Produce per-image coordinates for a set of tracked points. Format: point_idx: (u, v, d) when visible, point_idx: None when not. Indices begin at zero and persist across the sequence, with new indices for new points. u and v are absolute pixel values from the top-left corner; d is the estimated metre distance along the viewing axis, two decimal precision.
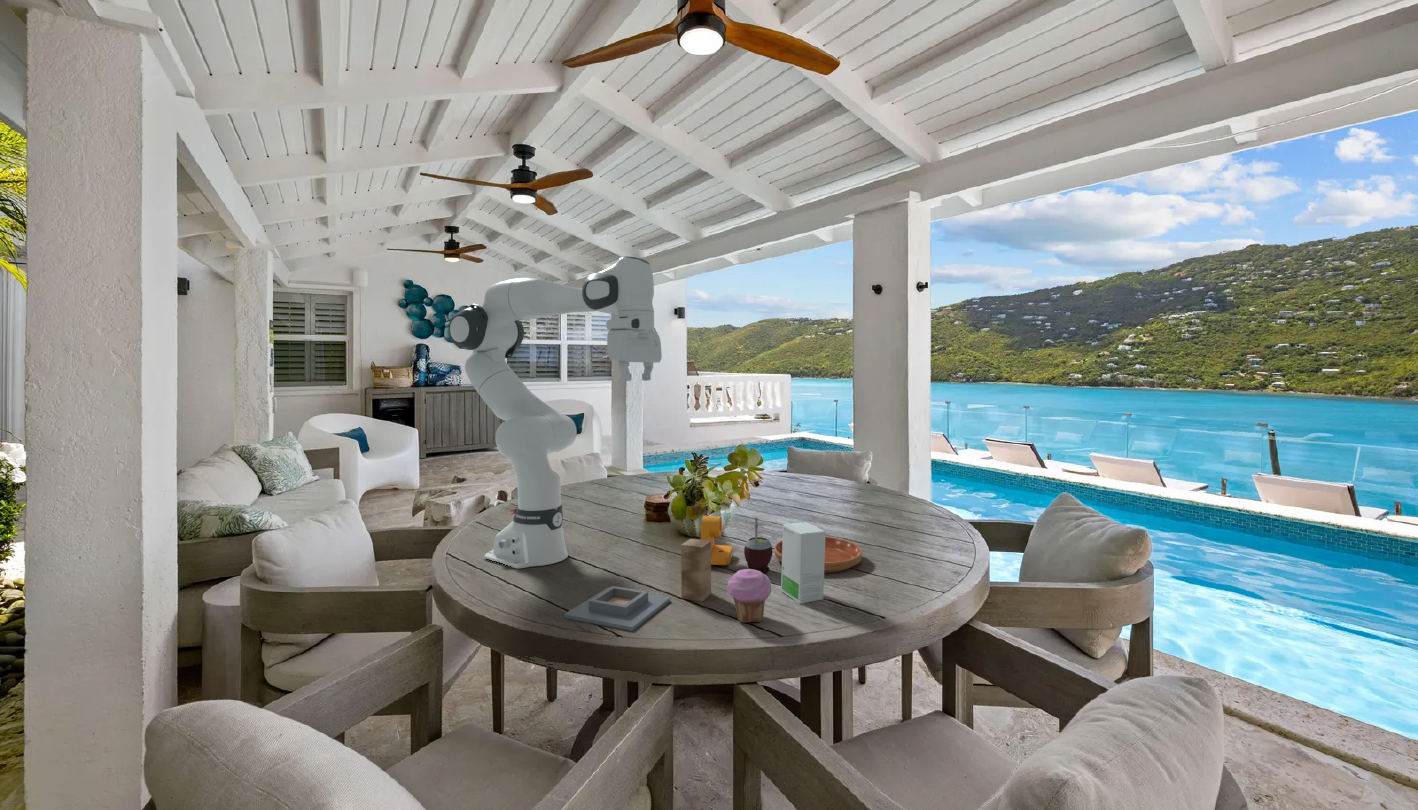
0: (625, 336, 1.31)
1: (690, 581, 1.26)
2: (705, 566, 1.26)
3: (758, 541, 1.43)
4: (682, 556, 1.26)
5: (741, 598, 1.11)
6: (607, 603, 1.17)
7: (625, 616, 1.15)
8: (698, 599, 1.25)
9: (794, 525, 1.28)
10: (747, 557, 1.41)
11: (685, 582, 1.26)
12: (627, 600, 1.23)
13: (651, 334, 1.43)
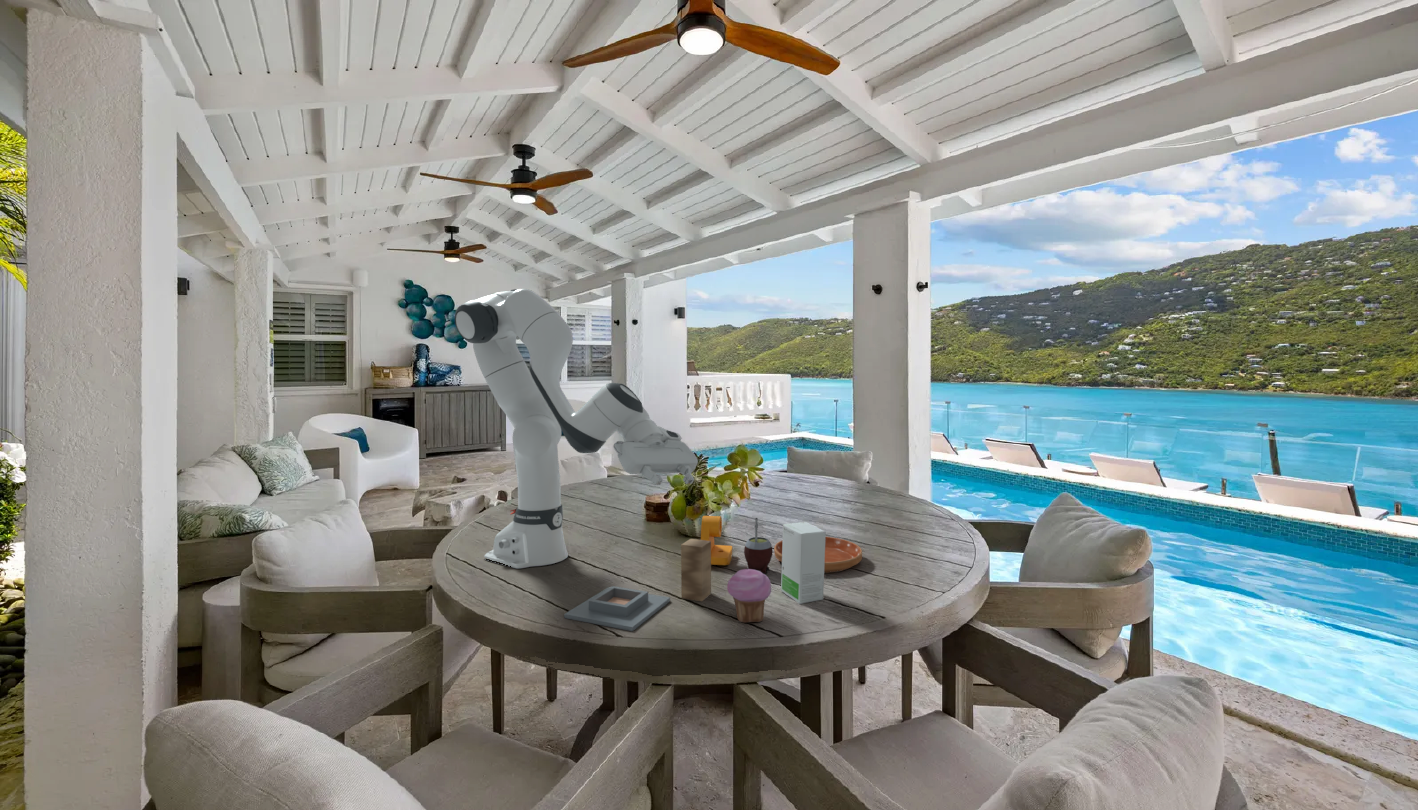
0: None
1: (690, 581, 1.26)
2: (706, 566, 1.26)
3: (758, 541, 1.43)
4: (682, 556, 1.26)
5: (741, 598, 1.11)
6: (607, 603, 1.17)
7: (625, 616, 1.15)
8: (698, 599, 1.25)
9: (794, 525, 1.28)
10: (747, 557, 1.41)
11: (685, 582, 1.26)
12: (627, 600, 1.23)
13: None
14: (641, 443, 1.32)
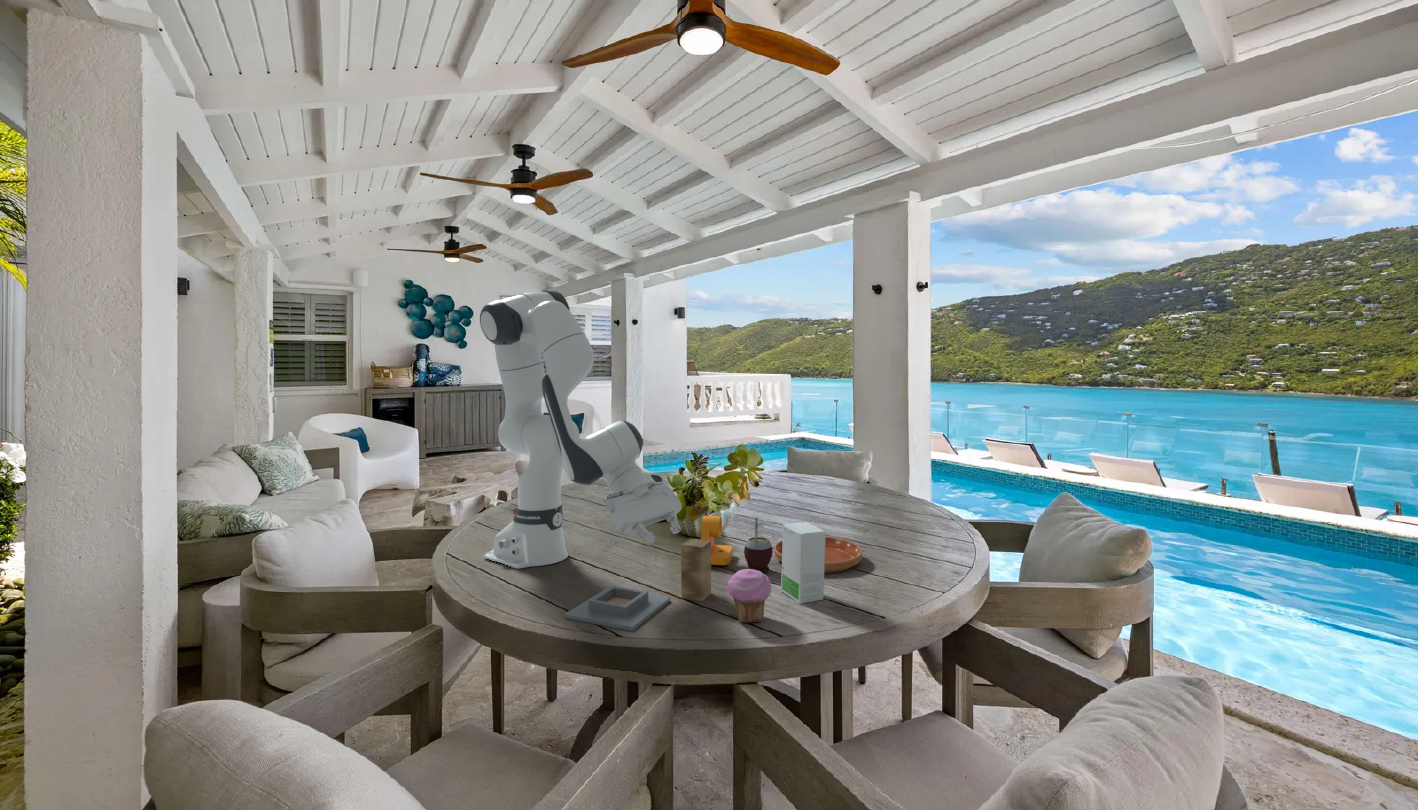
0: None
1: (690, 581, 1.26)
2: (705, 566, 1.26)
3: (758, 541, 1.43)
4: (682, 556, 1.26)
5: (741, 598, 1.11)
6: (607, 603, 1.17)
7: (625, 616, 1.15)
8: (698, 599, 1.25)
9: (794, 525, 1.28)
10: (747, 557, 1.41)
11: (685, 582, 1.26)
12: (627, 600, 1.23)
13: None
14: (630, 495, 1.30)
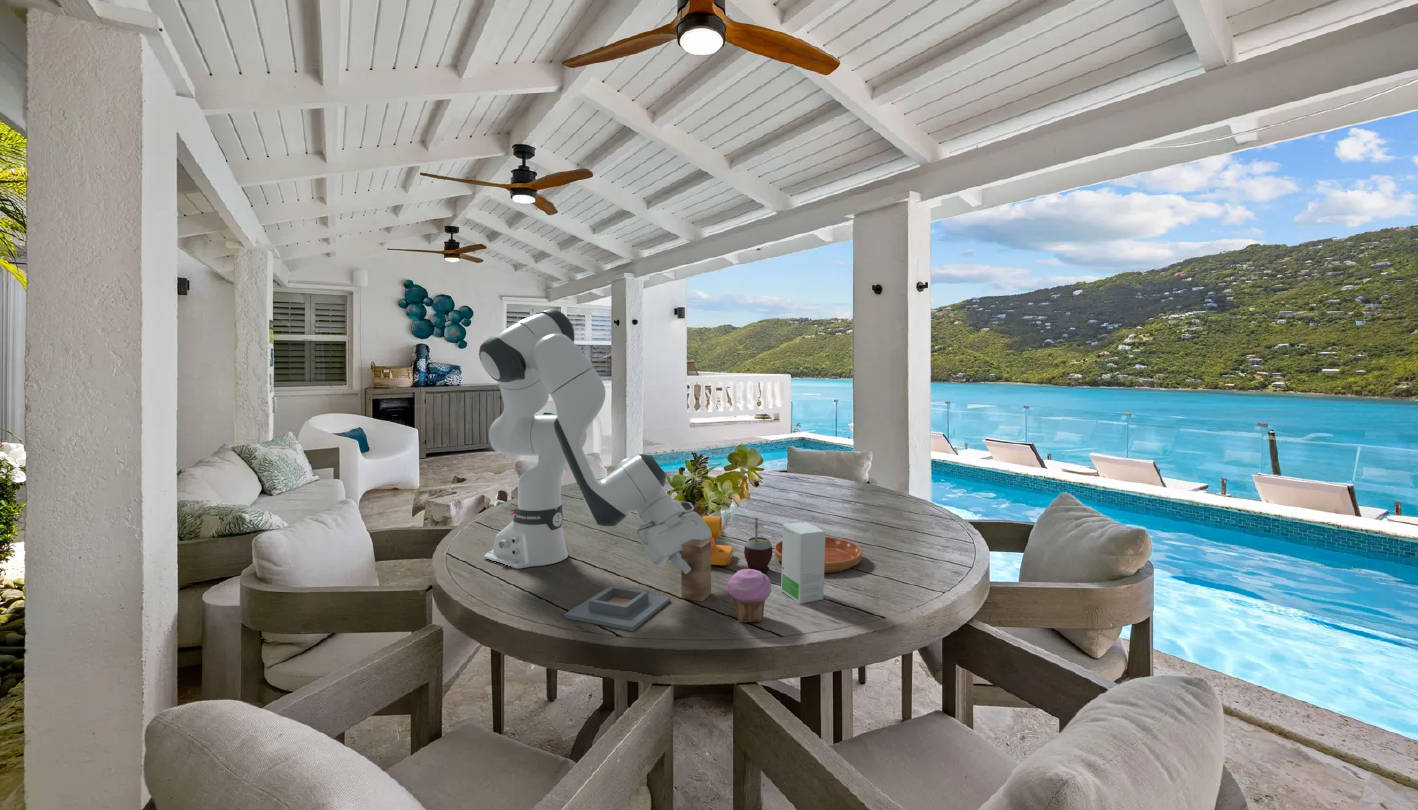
0: None
1: (690, 581, 1.26)
2: (706, 566, 1.26)
3: (758, 541, 1.43)
4: (682, 556, 1.26)
5: (741, 598, 1.11)
6: (607, 603, 1.17)
7: (625, 616, 1.15)
8: (698, 599, 1.25)
9: (794, 525, 1.28)
10: (747, 557, 1.41)
11: (685, 582, 1.26)
12: (627, 600, 1.23)
13: None
14: (663, 526, 1.27)
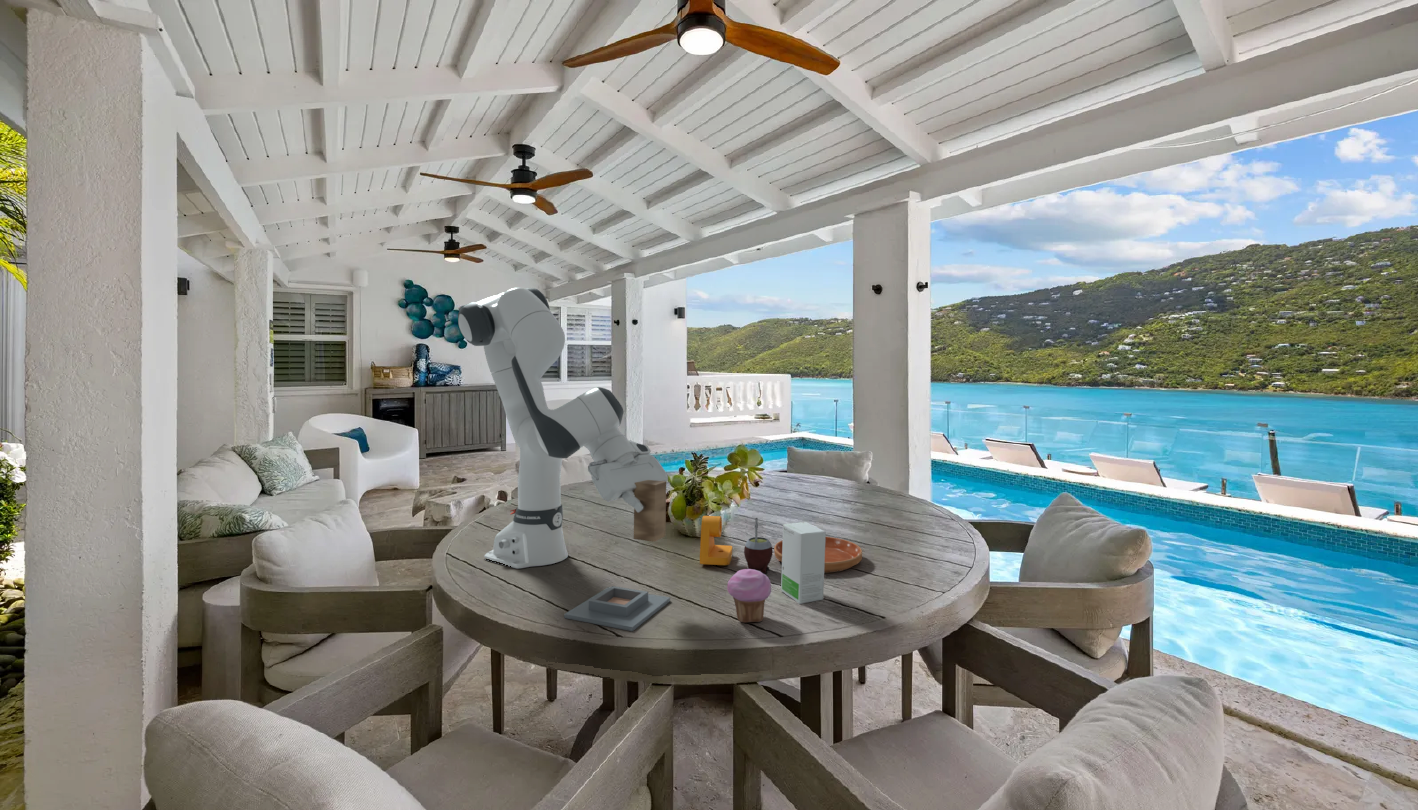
0: None
1: (642, 521, 1.21)
2: (659, 506, 1.22)
3: (758, 541, 1.43)
4: (635, 495, 1.21)
5: (741, 598, 1.11)
6: (607, 603, 1.17)
7: (625, 616, 1.15)
8: (650, 539, 1.20)
9: (794, 525, 1.28)
10: (747, 557, 1.41)
11: (637, 522, 1.21)
12: (627, 600, 1.23)
13: None
14: (615, 463, 1.22)
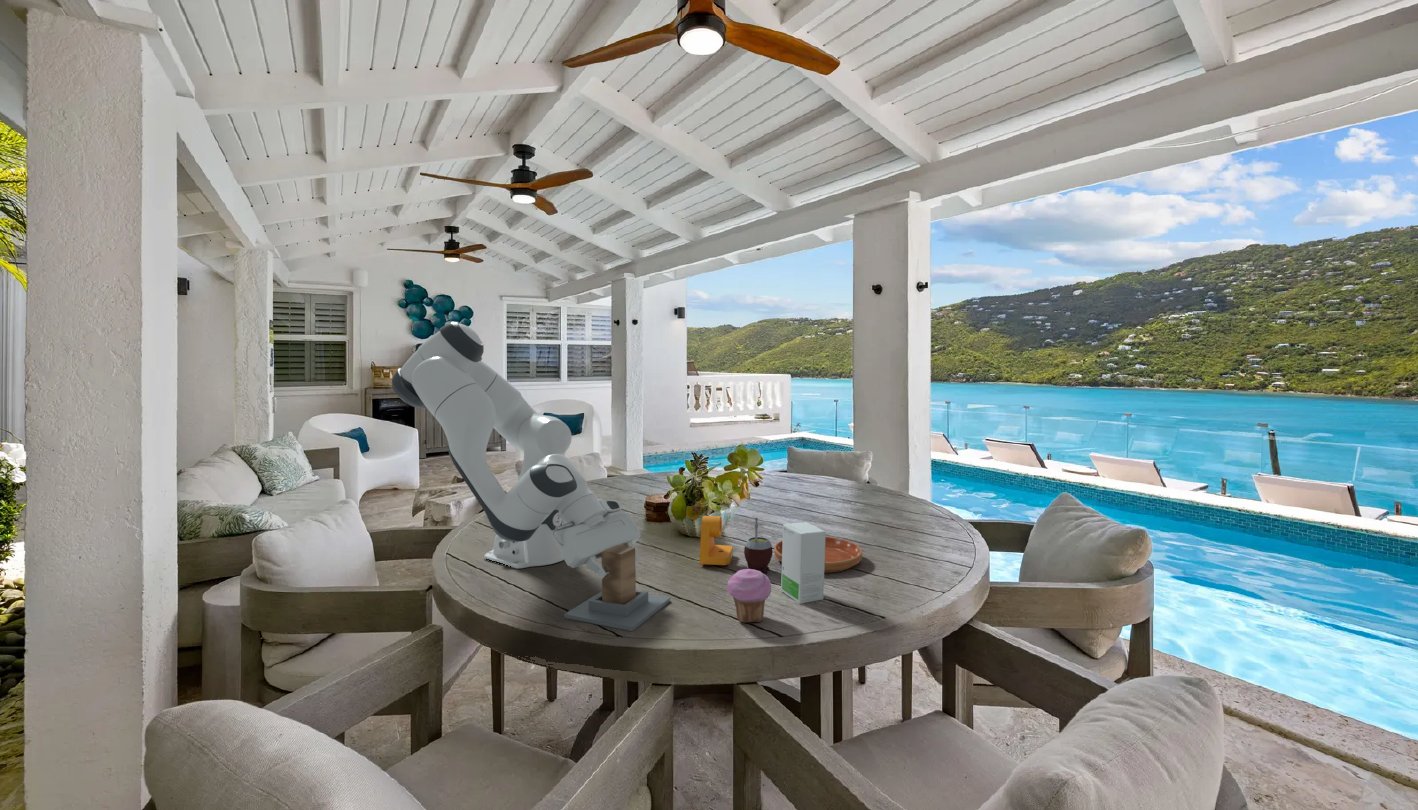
0: None
1: (610, 590, 1.18)
2: (627, 574, 1.19)
3: (758, 541, 1.43)
4: (602, 563, 1.19)
5: (741, 598, 1.11)
6: (607, 603, 1.17)
7: (625, 616, 1.15)
8: None
9: (794, 525, 1.28)
10: (747, 557, 1.41)
11: (605, 591, 1.19)
12: None
13: None
14: (583, 526, 1.20)
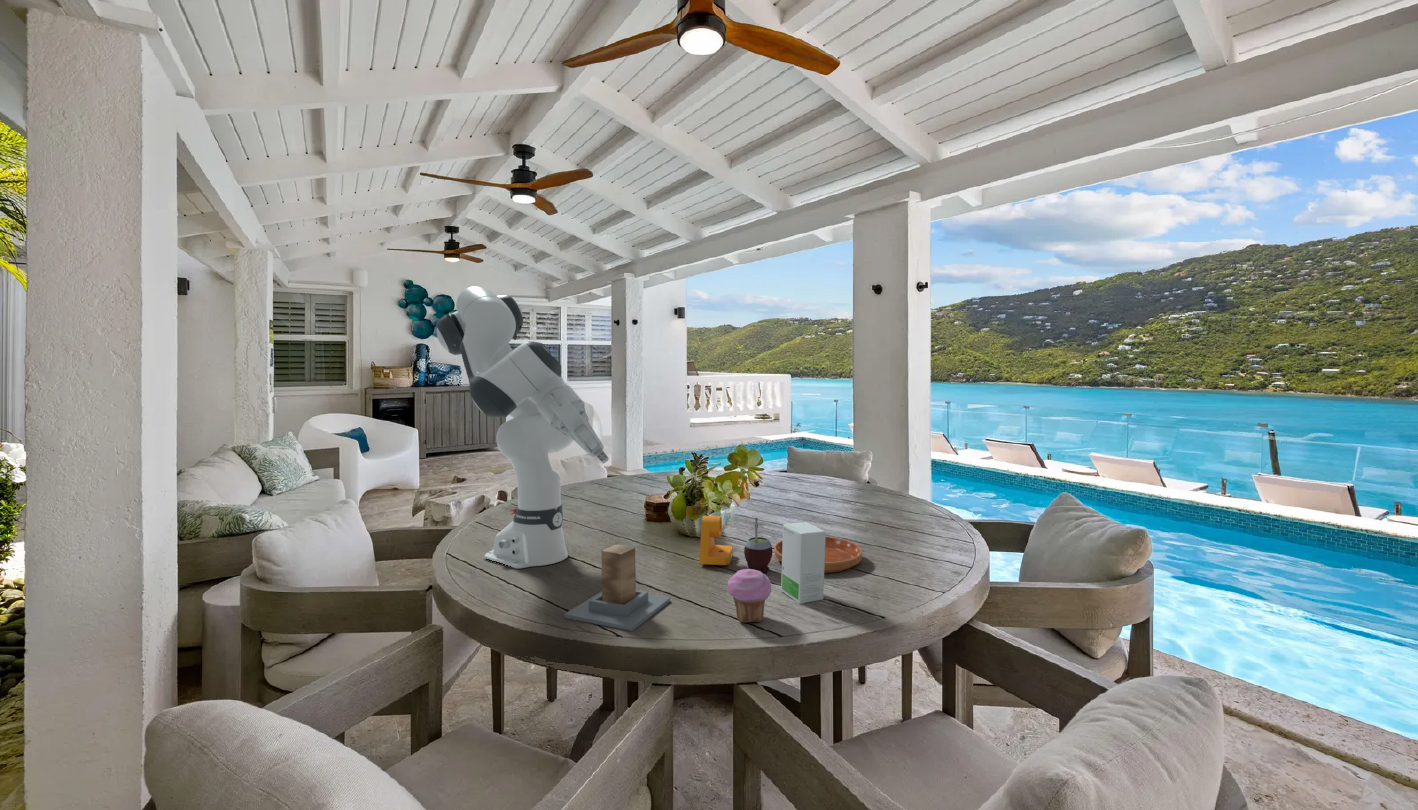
0: (576, 441, 1.32)
1: (610, 590, 1.18)
2: (627, 574, 1.19)
3: (758, 541, 1.43)
4: (602, 563, 1.19)
5: (741, 598, 1.11)
6: (607, 603, 1.17)
7: (625, 616, 1.15)
8: None
9: (794, 525, 1.28)
10: (747, 557, 1.41)
11: (605, 591, 1.19)
12: None
13: (556, 413, 1.21)
14: None
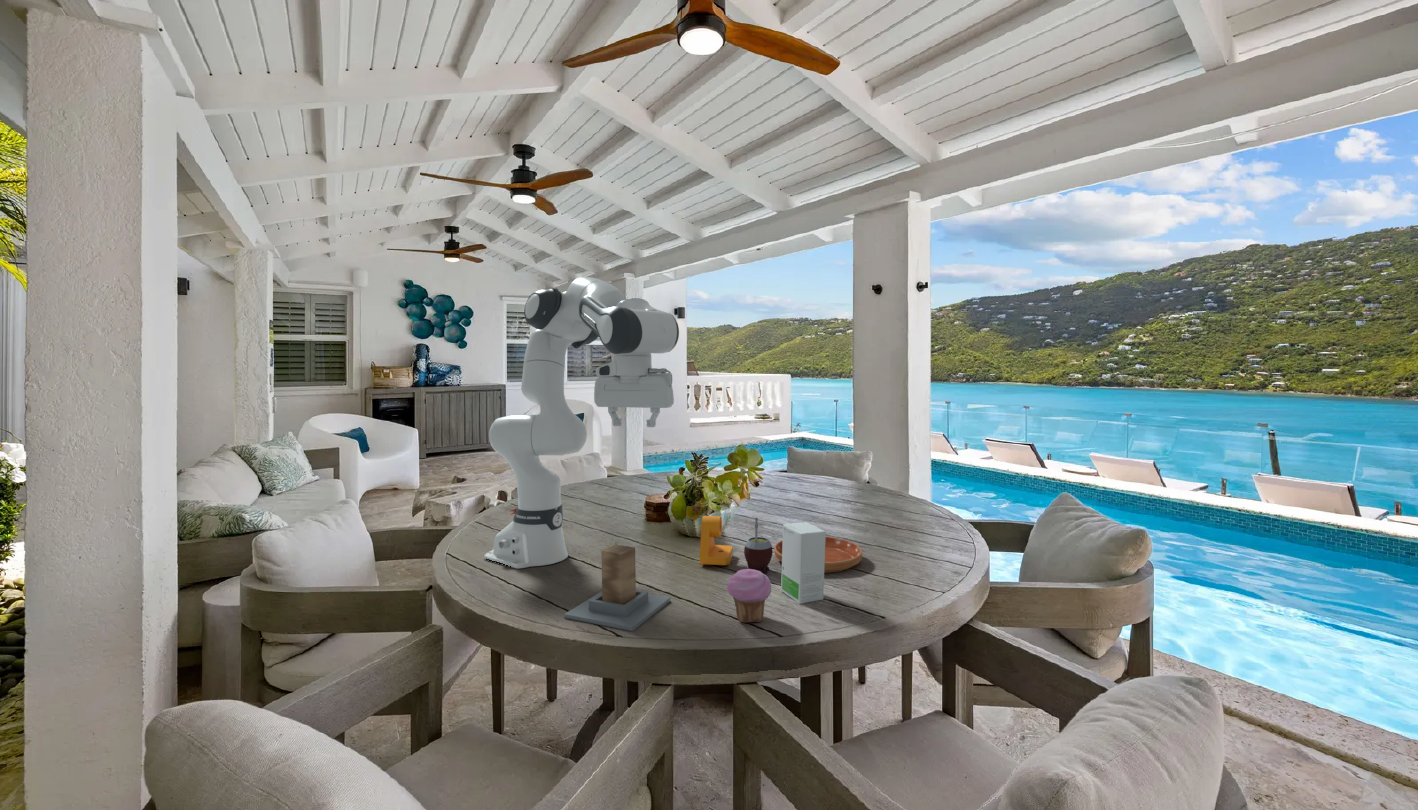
0: (596, 383, 1.38)
1: (610, 590, 1.18)
2: (627, 574, 1.19)
3: (758, 541, 1.43)
4: (602, 563, 1.19)
5: (741, 598, 1.11)
6: (607, 603, 1.17)
7: (625, 616, 1.15)
8: None
9: (794, 525, 1.28)
10: (747, 557, 1.41)
11: (605, 591, 1.19)
12: None
13: (645, 378, 1.33)
14: None
